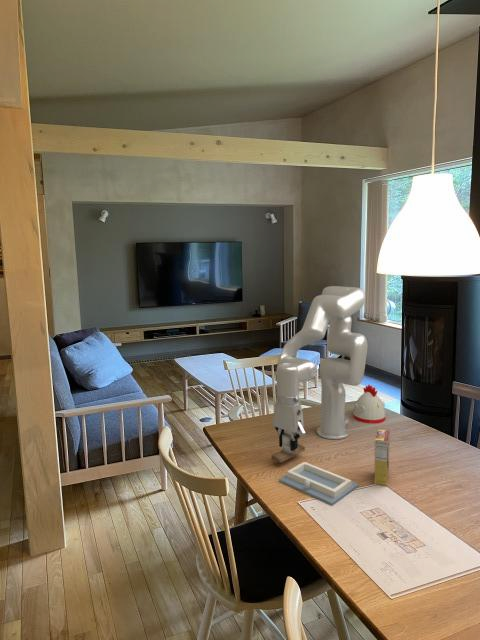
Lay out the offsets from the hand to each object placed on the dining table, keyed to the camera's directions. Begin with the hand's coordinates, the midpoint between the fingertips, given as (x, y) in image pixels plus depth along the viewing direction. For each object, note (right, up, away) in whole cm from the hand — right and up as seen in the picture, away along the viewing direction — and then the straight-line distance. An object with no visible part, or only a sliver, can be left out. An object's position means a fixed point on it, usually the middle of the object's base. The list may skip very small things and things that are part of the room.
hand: (288, 446), depth 162 cm
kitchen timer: (+40, +2, +41) cm, 57 cm away
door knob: (0, -3, +1) cm, 3 cm away
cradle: (+8, -8, -15) cm, 19 cm away
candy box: (+29, -7, -12) cm, 33 cm away
